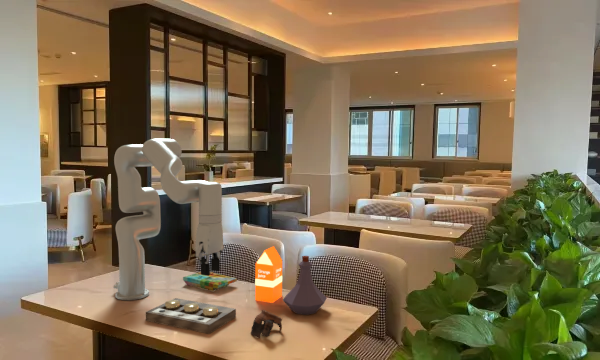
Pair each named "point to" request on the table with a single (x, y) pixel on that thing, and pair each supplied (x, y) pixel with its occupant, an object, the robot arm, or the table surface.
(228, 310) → the button board
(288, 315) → the table surface
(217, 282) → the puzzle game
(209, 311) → the button
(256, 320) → the brown goggles
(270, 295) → the orange juice
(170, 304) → the button
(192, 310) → the button middle
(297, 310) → the flask
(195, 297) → the table surface
